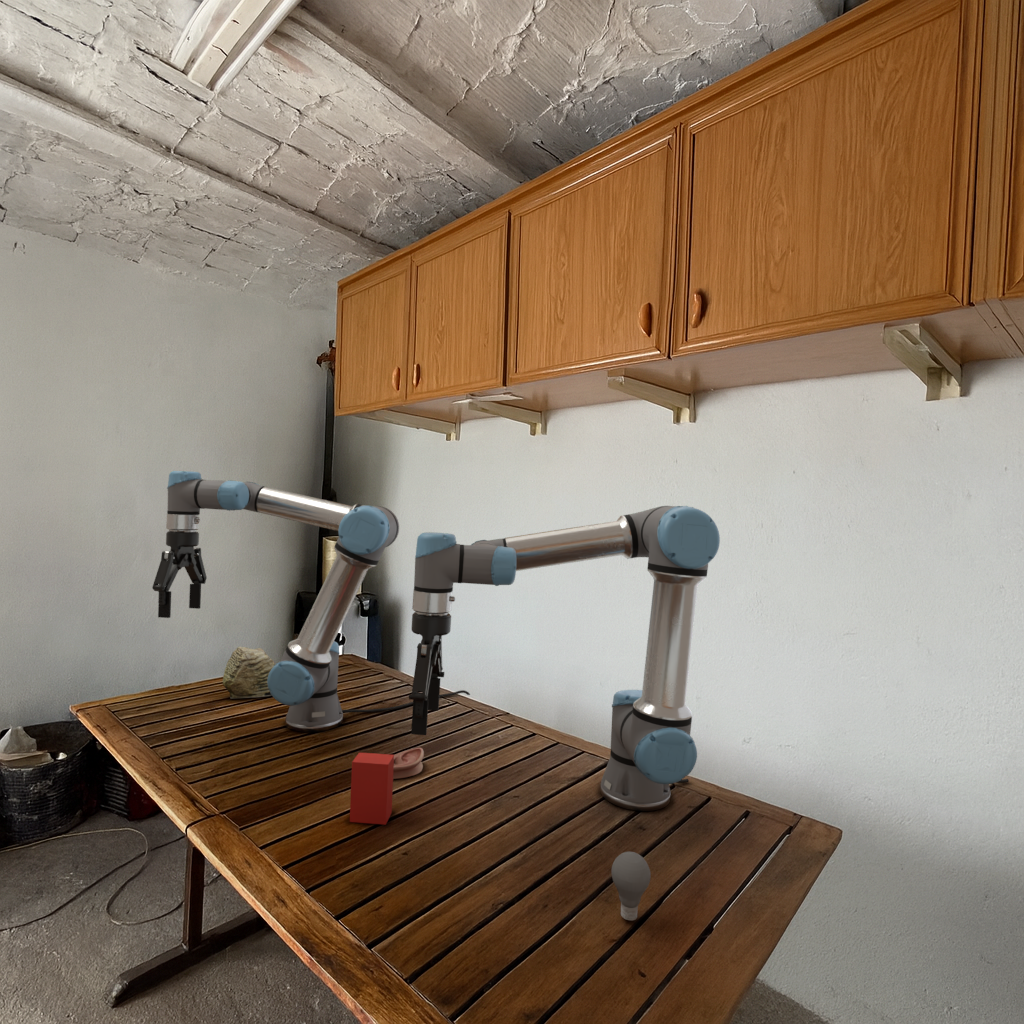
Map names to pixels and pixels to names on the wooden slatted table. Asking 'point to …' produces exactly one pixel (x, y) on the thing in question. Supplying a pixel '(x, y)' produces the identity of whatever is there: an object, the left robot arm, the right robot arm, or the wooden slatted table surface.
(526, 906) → the wooden slatted table surface
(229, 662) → the fossil
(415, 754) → the anatomical model
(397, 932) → the wooden slatted table surface
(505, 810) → the wooden slatted table surface
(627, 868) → the light bulb
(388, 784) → the brick
